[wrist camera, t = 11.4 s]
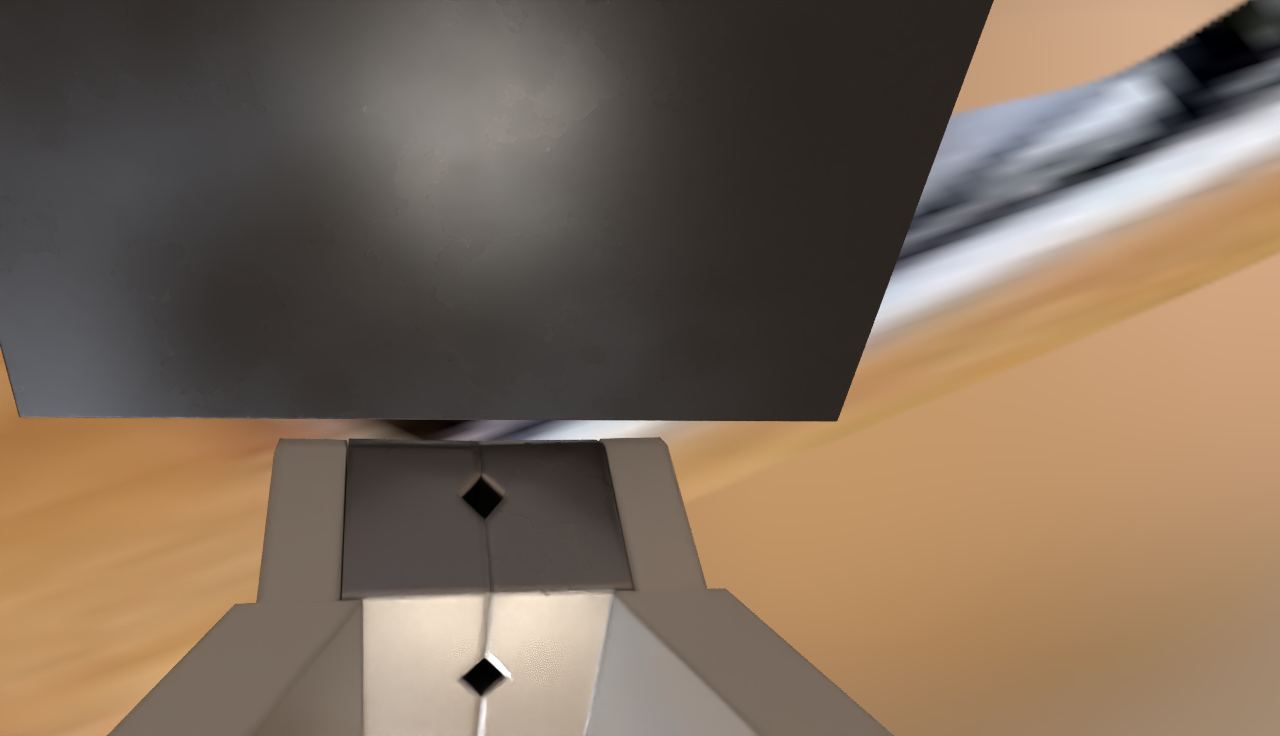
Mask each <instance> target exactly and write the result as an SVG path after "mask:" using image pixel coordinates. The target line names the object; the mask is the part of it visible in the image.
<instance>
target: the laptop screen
mask: <svg viewBox="0 0 1280 736" xmlns="http://www.w3.org/2000/svg"><path fill="white" fill-rule="evenodd" d="M993 1H994V0H0V347H1V350H2V354H3V358H4V362H5V365H6V369H7V373H8V377H9V380H10V384H11V388H12V392H13V395H14V399H15V403H16V406H17V410H18V414H19V416H20V417H72V418H268V419H465V420H661V421H837V420H838V418H839V415H840V412H841V410H842V407H843V404H844V402H845V399H846V396H847V393H848V391H849V388H850V385H851V383H852V380H853V377H854V375H855V372H856V369H857V367H858V364H859V361H860V358H861V356H862V353H863V350H864V348H865V345H866V342H867V340H868V337H869V334H870V332H871V329H872V326H873V324H874V321H875V318H876V315H877V313H878V310H879V307H880V305H881V302H882V299H883V297H884V294H885V291H886V289H887V286H888V283H889V280H890V278H891V275H892V272H893V270H894V267H895V264H896V262H897V259H898V256H899V254H900V251H901V248H902V246H903V243H904V240H905V237H906V235H907V232H908V229H909V227H910V224H911V221H912V219H913V216H914V213H915V211H916V208H917V205H918V202H919V200H920V197H921V194H922V192H923V189H924V186H925V184H926V181H927V178H928V176H929V173H930V170H931V168H932V165H933V162H934V159H935V157H936V154H937V151H938V149H939V146H940V143H941V141H942V138H943V135H944V133H945V130H946V127H947V124H948V122H949V119H950V116H951V114H952V111H953V108H954V106H955V103H956V100H957V97H958V95H959V92H960V90H961V86H962V84H963V81H964V79H965V76H966V73H967V71H968V68H969V65H970V63H971V60H972V57H973V54H974V52H975V49H976V46H977V44H978V41H979V38H980V36H981V33H982V30H983V28H984V25H985V22H986V20H987V17H988V14H989V12H990V9H991V6H992V3H993Z"/></svg>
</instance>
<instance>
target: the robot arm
mask: <svg viewBox="0 0 1280 736" xmlns="http://www.w3.org/2000/svg"><path fill="white" fill-rule="evenodd" d="M107 736H894V735H893V734H891V733H890V732H889V731H888V730H887V729H886V728H885V727H883V726H882V725H881V724H880V723H879V722H878V721H876V720H875V719H874V718H873V717H872V716H871V715H870V714H868V713H867V712H866V711H865V710H864V709H863V708H862V707H860V706H859V705H858V704H857V703H856V702H855V701H854V700H852V699H851V698H850V697H849V696H848V695H846V693H844V692H843V691H842V690H841V689H840V688H839V687H837V686H836V685H835V684H834V683H833V682H832V681H831V680H829V679H828V678H827V677H826V676H825V675H824V674H823V673H822V672H820V671H819V670H818V669H817V668H816V667H815V666H814V665H812V664H811V663H810V662H809V661H808V660H807V659H806V658H804V657H803V656H802V655H801V654H800V653H799V652H798V651H796V650H795V649H794V648H793V647H792V646H791V645H790V644H788V643H787V642H786V641H785V640H784V639H783V638H782V637H780V636H779V635H778V634H777V633H776V632H775V631H774V630H772V629H771V628H770V627H769V626H768V625H767V624H765V623H764V622H763V621H762V620H761V619H760V618H759V617H757V616H756V615H755V614H754V613H753V612H752V611H751V610H750V609H748V608H747V607H746V606H745V605H744V604H743V603H742V602H740V601H739V600H738V599H737V598H736V597H735V596H734V595H732V594H731V593H730V592H729V591H728V590H727V589H707V586H706V582H705V579H704V575H703V572H702V568H701V564H700V561H699V557H698V553H697V550H696V546H695V543H694V539H693V536H692V532H691V528H690V525H689V521H688V517H687V514H686V511H685V507H684V503H683V499H682V496H681V492H680V489H679V485H678V481H677V478H676V474H675V471H674V467H673V463H672V460H671V456H670V453H669V449H668V446H667V444H666V443H665V442H664V441H663V440H662V439H661V438H660V437H659V438H610V439H600V440H599V441H597V440H519V441H445V440H394V439H349V443H348V444H347V441H346V440H328V439H280V440H279V442H278V444H277V447H276V449H275V452H274V458H273V467H272V475H271V484H270V492H269V501H268V509H267V518H266V526H265V535H264V543H263V551H262V560H261V568H260V577H259V585H258V594H257V602H256V603H248V604H235V605H234V606H233V607H232V608H231V609H230V610H229V611H228V612H227V613H226V614H225V615H224V616H223V617H222V618H221V619H220V620H219V621H218V622H217V623H216V624H215V625H214V626H213V627H212V628H211V629H210V630H209V631H208V632H207V633H206V634H205V636H204V637H203V638H202V639H201V640H200V641H199V642H198V643H197V644H196V645H195V646H194V647H193V648H192V649H191V650H190V651H189V652H188V653H187V654H186V655H185V656H184V657H183V658H182V659H181V660H180V661H179V662H178V663H177V664H176V665H175V666H174V667H173V668H172V669H171V670H170V671H169V672H168V674H167V675H166V676H165V677H164V678H163V679H162V680H161V681H160V682H159V683H158V684H157V685H156V686H155V687H154V688H153V689H152V690H151V691H150V692H149V693H148V694H147V695H146V696H145V697H144V698H143V699H142V700H141V701H140V702H139V703H138V704H137V705H136V706H135V707H134V708H133V709H132V710H131V712H130V713H129V714H128V715H127V716H126V717H125V718H124V719H123V720H122V721H121V722H120V723H119V724H118V725H117V726H116V727H115V728H114V729H113V730H112V731H111V732H110V733H109V734H108V735H107Z"/></svg>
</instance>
